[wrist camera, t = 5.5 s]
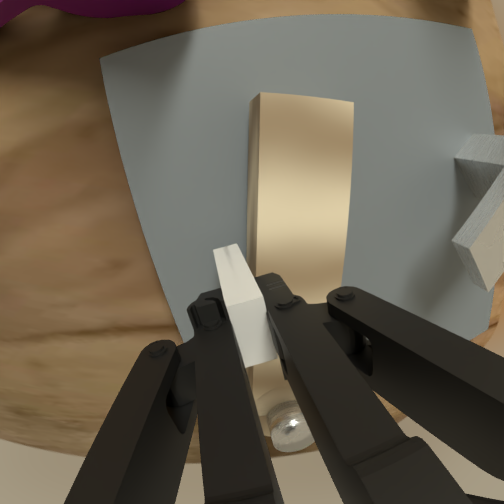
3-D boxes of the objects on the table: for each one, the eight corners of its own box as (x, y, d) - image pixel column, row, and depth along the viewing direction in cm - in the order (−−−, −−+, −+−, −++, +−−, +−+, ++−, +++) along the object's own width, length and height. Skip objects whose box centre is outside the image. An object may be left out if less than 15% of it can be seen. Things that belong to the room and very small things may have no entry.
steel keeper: (427, 257, 21) (488, 292, 15) (402, 219, 20) (469, 248, 14) (491, 173, 20) (552, 187, 14) (472, 133, 19) (538, 139, 13)
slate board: (224, 424, 25) (226, 436, 23) (106, 64, 15) (99, 58, 14) (478, 322, 27) (487, 329, 26) (460, 32, 18) (471, 28, 16)
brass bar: (305, 403, 23) (318, 430, 20) (241, 411, 22) (247, 440, 19) (333, 109, 16) (358, 103, 14) (244, 101, 16) (254, 91, 13)
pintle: (246, 414, 23) (260, 472, 17) (226, 361, 21) (238, 423, 15) (315, 393, 23) (342, 446, 18) (306, 337, 21) (338, 392, 16)
